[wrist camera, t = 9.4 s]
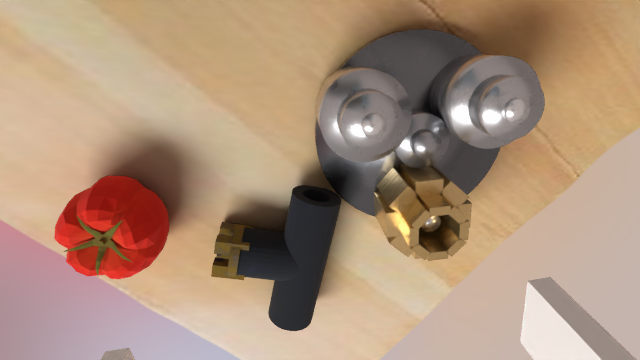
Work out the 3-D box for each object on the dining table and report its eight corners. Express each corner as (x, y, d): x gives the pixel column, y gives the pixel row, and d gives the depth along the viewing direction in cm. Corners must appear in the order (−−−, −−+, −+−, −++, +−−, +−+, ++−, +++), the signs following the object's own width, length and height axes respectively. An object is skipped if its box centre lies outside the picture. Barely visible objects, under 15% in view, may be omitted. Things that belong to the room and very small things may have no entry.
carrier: (305, 40, 32) (311, 39, 24) (509, 20, 33) (586, 13, 25) (323, 224, 39) (333, 276, 31) (491, 204, 40) (546, 249, 32)
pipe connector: (204, 324, 37) (220, 192, 32) (213, 290, 42) (229, 171, 37) (313, 333, 39) (345, 210, 34) (310, 300, 44) (337, 189, 39)
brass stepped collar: (372, 167, 36) (392, 197, 29) (450, 158, 36) (488, 186, 29) (375, 235, 39) (394, 278, 32) (447, 227, 39) (480, 267, 32)
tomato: (174, 251, 39) (149, 297, 32) (87, 241, 38) (42, 286, 31) (179, 172, 36) (153, 204, 29) (85, 158, 35) (34, 187, 28)
